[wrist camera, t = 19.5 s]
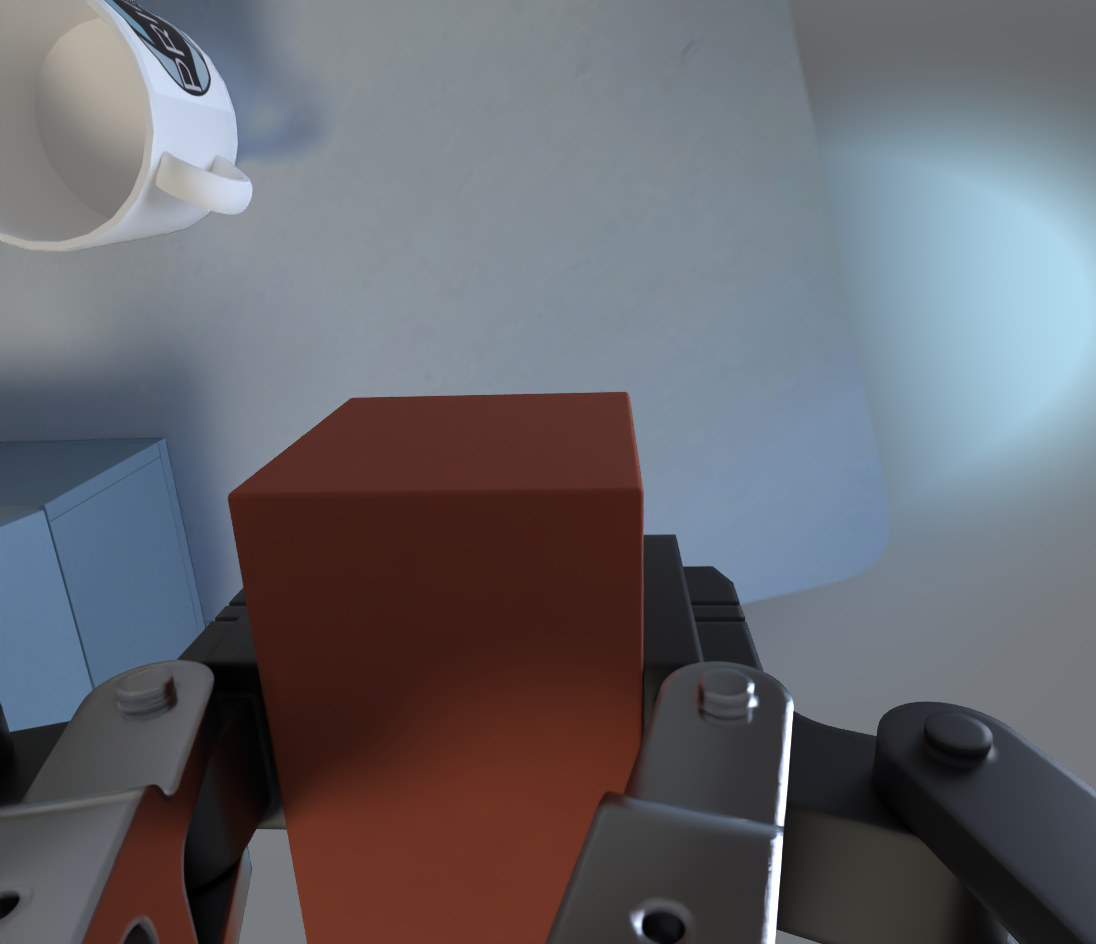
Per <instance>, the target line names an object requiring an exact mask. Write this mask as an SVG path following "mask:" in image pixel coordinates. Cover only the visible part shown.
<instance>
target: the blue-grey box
mask: <svg viewBox="0 0 1096 944" xmlns="http://www.w3.org/2000/svg"><path fill="white" fill-rule="evenodd" d="M28 509H38V510H43V511H44V513H45V517H46V520H47V524H48V528H49V531H50V535H51V539H52V542H53V546H54V550H55V553H56V557H57V561H58V564H59V568H60V572H61V575H62V579H63V583H64V586H65V590H66V594H67V597H68V601H69V605H70V608H71V612H72V615H73V619H74V623H75V626H76V630H77V634H78V637H79V641H80V645H81V648H82V652H83V656H84V659H85V663H86V667H87V670H88V674H89V678H90V681H91V685H92V689H95V688H96V687H97V686H99V685H100V684H101V683H103V682H105V681H106V680H108V679H110V678H112V677H114V676H116V675H118V674H120V673H122V672H125V671H127V670H130V669H133V668H136V667H139V666H142V665H146V664H150V663H154V662H160V661H168V660H177V659H178V658H179V656H180V655H181V654H182V653H183V652H184V651H185V650H186V649H187V648H188V647H189V646H190V645H191V644H192V642H193V641H194V640H195V639H196V638H197V637H198V636H199V635H200V634H201V633H202V632H203V631H204V629H205V624H204V619H203V615H202V610H201V605H200V600H199V596H198V591H197V586H196V582H195V577H194V572H193V567H192V563H191V558H190V553H189V549H188V544H187V539H186V535H185V530H184V525H183V520H182V516H181V511H180V506H179V502H178V497H177V492H176V487H175V483H174V478H173V473H172V469H171V464H170V459H169V455H168V450H167V445H166V440H165V438H147V439H108V440H70V441H31V442H0V520H3V519H5V518H8V517H10V516H13V515H15V514H18V513H21V512H23V511H26V510H28Z"/></svg>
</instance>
